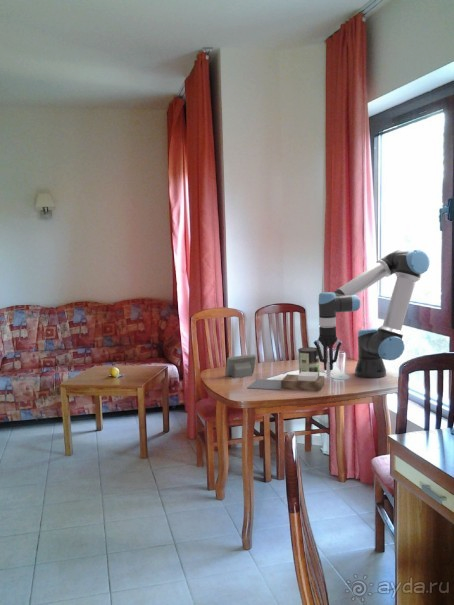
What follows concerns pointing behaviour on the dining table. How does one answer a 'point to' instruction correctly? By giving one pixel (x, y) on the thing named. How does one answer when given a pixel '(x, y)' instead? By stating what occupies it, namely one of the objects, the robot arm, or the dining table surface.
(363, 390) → the dining table surface
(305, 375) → the coaster
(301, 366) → the coffee can
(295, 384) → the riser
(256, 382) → the mat
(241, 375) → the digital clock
